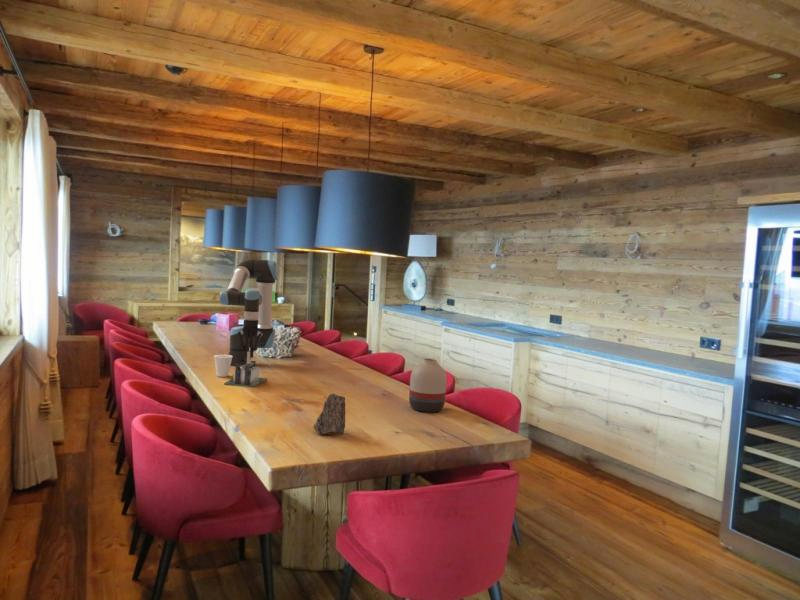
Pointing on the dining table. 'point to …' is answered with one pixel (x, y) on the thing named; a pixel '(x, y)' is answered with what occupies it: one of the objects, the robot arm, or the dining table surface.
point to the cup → (222, 365)
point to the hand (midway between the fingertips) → (248, 363)
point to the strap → (245, 365)
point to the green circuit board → (246, 376)
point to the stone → (331, 416)
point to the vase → (427, 386)
